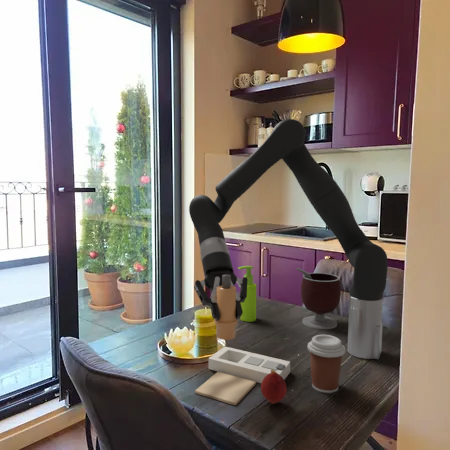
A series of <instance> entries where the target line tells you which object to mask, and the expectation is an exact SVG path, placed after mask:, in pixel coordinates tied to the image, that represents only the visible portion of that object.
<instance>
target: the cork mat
mask: <svg viewBox="0 0 450 450" xmlns="http://www.w3.org/2000/svg"><path fill="white" fill-rule="evenodd" d="M255 385H257V382H255V381H251V380H247V379H244V378H240V377H236V376H233V375H229V374H225V373H222V372H218V371H216V372H215V374H213V375H212V376H210V378H208V379H207V380H206V381H205V382H204V383H203V384H201V385H200V386H198V387H197V389H195V390H194V393H195V394H197V395H201V396H204V397H206V398H210V399H213V400H217V401H219V402H223V403H226V404H230V405H233V406H237V405H238V404H239V403H240V401H242V399H244V398H245V397H246V396H247V394H248V393H249V392H250V391H251V390H252V388H253V387H255Z"/></svg>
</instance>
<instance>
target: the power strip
mask: <svg viewBox="0 0 450 450" xmlns="http://www.w3.org/2000/svg"><path fill="white" fill-rule="evenodd" d="M208 370H211V371H215V372H222V373H225V374H229V375H233V376H236V377H240V378H244V379H247V380H251V381H255V382H256V383H258V384H261V383H262V381H263V379H264V377H265V376H266V375H268V374H269V373H271V370H275V372H276V373H277V374H279V375H280V376H281V377H282V378H283V379H284V380H286V378H287V377H288V375H289V374H290V373H291V361H289V360H284V359H280V358H275V357H271V356H268V355H263V354H260V353H254V352H251V351H245V350H243V349H239V348H234V347H230V346H223V347H222V348H220V349H219V350H218V351H216V352H215V353H214V354H212V355H211V356H210V357H209V358H208Z"/></svg>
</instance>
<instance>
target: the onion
mask: <svg viewBox="0 0 450 450" xmlns="http://www.w3.org/2000/svg"><path fill="white" fill-rule="evenodd" d="M260 391H261V394H262V396H263V398H265V399H266V400H267V401H269V403H270V404H271V405H275V404H278V403H279V402H282V400H284V398H285V397H286V395H287V391H288V388H287V384H286V380H285V379H283V378H282V377H281V376H280V375H279V374H277V373H276V372H275V370H271V373H269V374H268V375H266V376H265V377H264V379H263V381H262V383H260Z"/></svg>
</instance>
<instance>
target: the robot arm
mask: <svg viewBox="0 0 450 450" xmlns="http://www.w3.org/2000/svg"><path fill="white" fill-rule="evenodd" d="M305 140H306V129H305V127H304V125H303V124H302V122H300V121H299V120H297V119H293V118H287V119H283V120H281V121H279V122H278V123H276V125H275V126H274V127H273V129H272V131H271V133H270V134H269V136H268V137H267V138H266V139H265V141H264V142H263V143H262V144H260V145H259V147H258V148H257V149H256V150H255V151H254V152H253V153H252V154H251V155H249V156H248V157H247V158H246V159H245V160H244V161H242V162H241V163H240V164H239V165H237V166H236V167H235V168H234V169H233V170H231V171H230V172H229V173H228V174H227V175H226V176H225V177H223V179H221V181H219V182H218V183H217V185H216V186H215V187H214V188H215V192H216V194H217V196H216V198H215V200H214V201H213V200H212V198H210V197H209V196H207V195H205V194H198V195H196V196H194V197H193V198H192V199H191V200H190V202H189V207H188V212H189V216H190V219H191V221H192V224H193V227H194V229H195V231H196V234H197V238H198V244H199V249H200V250H199V252H200V254H199V255H200V261H201V264H202V268H203V271H202V272H203V276H204V279H203V280H199V279H196V280H195V283H194V286H193V288H194V290H195V292H196V295H197V297H198V298H199V301H200V303H201V305H202V306H208V307H210V311H211V317H212V319H213V320H215V321H219V319H220V314H219V309H218V304H217V287H218V286H222V275H225V274H228V275H231V286H235V285H236V284H237V285H238V288H240V290H239V293H240V294H239V293H238V289H236V319H238V320H241V319H240V317H241V315H242V313H243V311H242V307H241V302H242V303H243V302H244V301H245V299H246V297H247V280H248V279H247V278H246V277H244V276H243V277H242V278H239V277H237V275H235V273H234V267H233V264H232V260H231V255H230V251H229V248H228V245H227V243H226V239H225V235H224V230H223V228H222V226H221V225H220V223H221V222H222V221H223V219H224V218H225V217H226V215H227V213H228V212H229V211H230V210H231V208H232V206H233V204H234V203H235V202H236V201H237V200H238V199H240V197H242V196H243V194H245V193H246V192H247V191H248V190H249V189H251V187H252V186H254V184H255V183H256V182H258V180H260V178H261V177H262V176H263V175H264V174H265V173H266V172H267V171H268V170H269V169H271V168H272V167H273V166H274V165H275V164H276V163H278V162H279V161H280V160H282V161H283V162H284V163H285V165H286V166H287V167H288V168H289V170H290V172H291V173H292V174H293V176H294V177H295V179H296V181H297V184H299V186H300V188H301V189H302V192H303V193H304V195H305V196H306V197H307V200H308V201H309V203H310V204H311V206H312V207H313V210H315V212H316V213H317V215H319V217H320V219H321V220H322V221H323V223H324V224H325V225H326V226H327V227H328V229H329V230H330V231H331V232H332V233H333V235H334V236H335V237H336V239H337V242H339V244H340V246H341V248H342V250H343V251H344V254H345V255H346V257H347V259H348V261H349V263H350V266H352V268H353V281H352V284H351V285H350V286H349V299H348V300H349V301H348V321H347V326H348V327H347V328H348V329H347V352H348V354H350V355H351V356H353V357H356V358H359V359H365V360H372V359H374V360H379V359H380V356H381V354H382V345H383V344H382V343H383V325H384V323H383V322H384V321H383V320H382V319H383V318H382V317H383V301H384V299H383V298H384V292H385V291H386V286H387V277H388V267H389V266H388V263H389V261H388V254H387V253H386V251H385V250H384V248H383V247H381V246H380V245H378V244H375V243H374V242H372V240H371V239H369V238H368V236H367V235H366V234H365V232H363V230H362V228H361V227H360V226H359V224H358V223H357V220H356V219H355V215H354V213H353V210H352V207H351V205H350V203H349V201H348V199H347V196H346V195H345V193H344V191H342V188H341V187H340V186H339V185H338V183H337V182H336V180H335V179H334V178H333V177H332V176H331V175H330V173H328V171H327V170H326V169H324V168H323V166H321V165H320V164H319V163H318V162H317V160H315V158H313V156H312V155H311V153H310V151H309V149H308V148H307V146H306V144H305ZM205 287H206V288H207V289H208V290H210V292H211V293H210V297H209V296H208V294H207V293H206V291H205Z"/></svg>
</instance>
